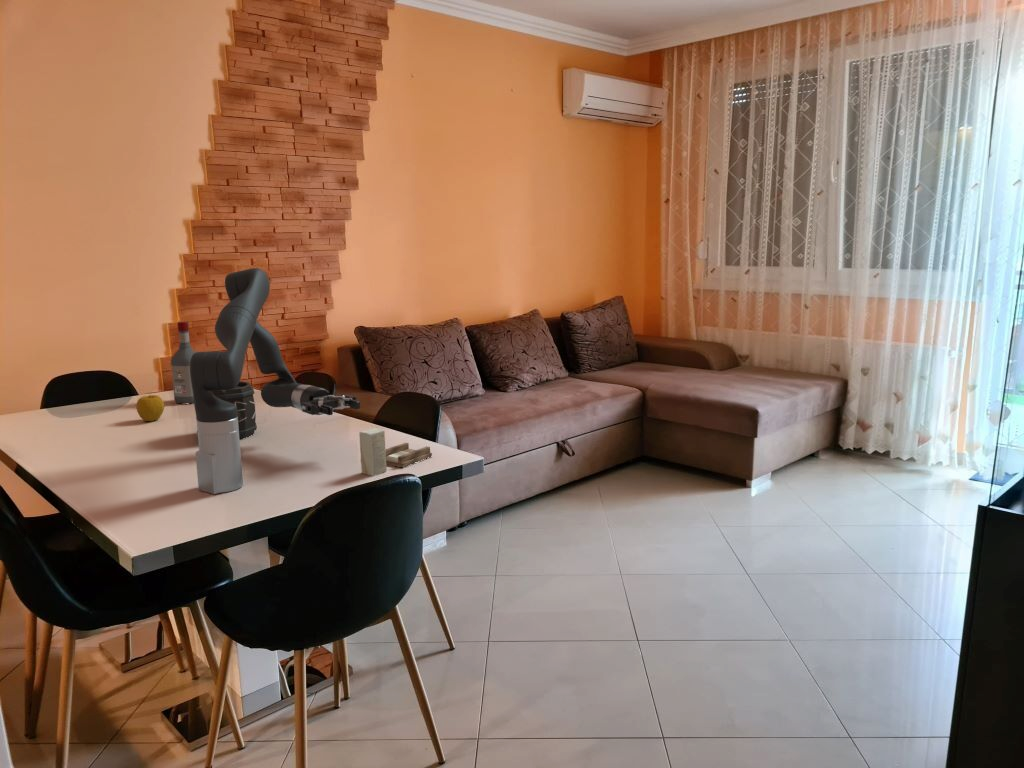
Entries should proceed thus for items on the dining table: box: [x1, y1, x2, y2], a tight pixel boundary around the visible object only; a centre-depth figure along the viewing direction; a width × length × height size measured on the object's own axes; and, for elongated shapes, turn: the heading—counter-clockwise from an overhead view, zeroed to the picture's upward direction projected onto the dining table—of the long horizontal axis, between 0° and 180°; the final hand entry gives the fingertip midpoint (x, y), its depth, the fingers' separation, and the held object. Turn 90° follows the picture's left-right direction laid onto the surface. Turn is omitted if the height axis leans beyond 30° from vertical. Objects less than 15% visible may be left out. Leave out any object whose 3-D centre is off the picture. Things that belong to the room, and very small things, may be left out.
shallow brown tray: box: [385, 442, 433, 468], centre depth 203 cm, size 12×10×3 cm
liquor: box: [170, 321, 197, 404], centre depth 278 cm, size 9×9×30 cm
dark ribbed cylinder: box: [196, 380, 258, 440], centre depth 229 cm, size 18×18×16 cm
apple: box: [135, 394, 165, 422], centre depth 249 cm, size 8×8×9 cm
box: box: [359, 427, 388, 477], centre depth 191 cm, size 5×4×11 cm
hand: (345, 408), depth 197 cm, fingers open, 8 cm apart
